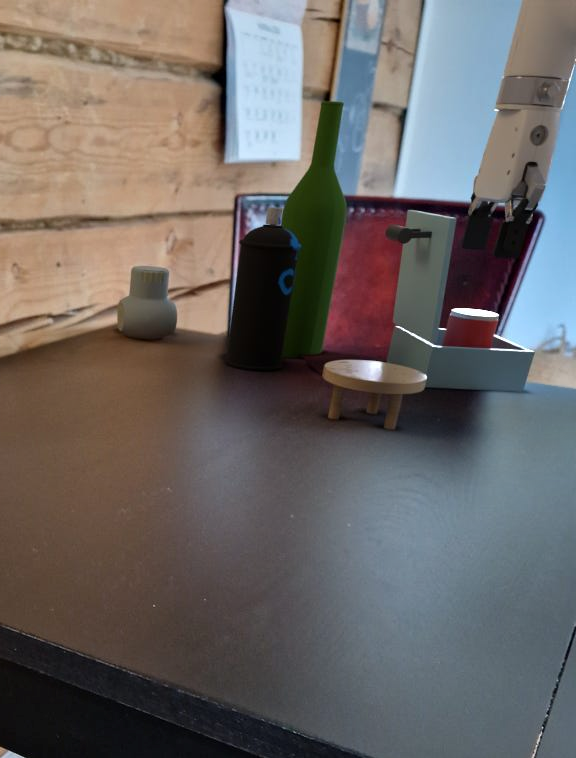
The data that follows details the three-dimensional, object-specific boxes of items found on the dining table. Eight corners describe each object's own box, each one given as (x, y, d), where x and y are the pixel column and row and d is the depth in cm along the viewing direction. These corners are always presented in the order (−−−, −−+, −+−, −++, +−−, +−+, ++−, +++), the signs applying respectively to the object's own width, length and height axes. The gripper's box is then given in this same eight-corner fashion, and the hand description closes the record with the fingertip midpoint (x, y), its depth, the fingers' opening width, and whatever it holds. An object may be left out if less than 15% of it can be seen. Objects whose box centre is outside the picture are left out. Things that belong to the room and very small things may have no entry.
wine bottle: (330, 353, 132) (376, 105, 116) (306, 362, 125) (352, 100, 109) (278, 344, 136) (315, 103, 120) (252, 351, 130) (288, 98, 113)
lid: (413, 209, 115) (375, 211, 115) (457, 217, 102) (414, 219, 102) (397, 322, 122) (362, 323, 122) (436, 342, 109) (397, 344, 109)
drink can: (470, 371, 122) (487, 309, 118) (489, 382, 116) (508, 317, 112) (428, 369, 121) (443, 307, 117) (445, 380, 116) (462, 315, 112)
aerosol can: (222, 368, 119) (243, 207, 109) (225, 356, 126) (244, 204, 116) (282, 373, 118) (308, 211, 108) (281, 361, 125) (305, 208, 115)
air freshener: (114, 328, 140) (118, 262, 135) (164, 330, 141) (170, 265, 136) (124, 342, 130) (129, 271, 125) (177, 344, 131) (184, 274, 126)
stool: (394, 413, 102) (406, 362, 99) (428, 441, 93) (443, 385, 90) (303, 409, 101) (313, 357, 98) (329, 436, 92) (340, 380, 89)
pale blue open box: (475, 371, 126) (486, 330, 123) (521, 397, 113) (535, 351, 110) (385, 367, 125) (394, 325, 122) (421, 392, 113) (432, 346, 110)
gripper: (599, 97, 95) (548, 263, 104) (527, 103, 110) (487, 248, 119) (535, 92, 95) (488, 259, 104) (470, 98, 110) (435, 244, 118)
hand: (488, 253), depth 111 cm, fingers open, 9 cm apart
